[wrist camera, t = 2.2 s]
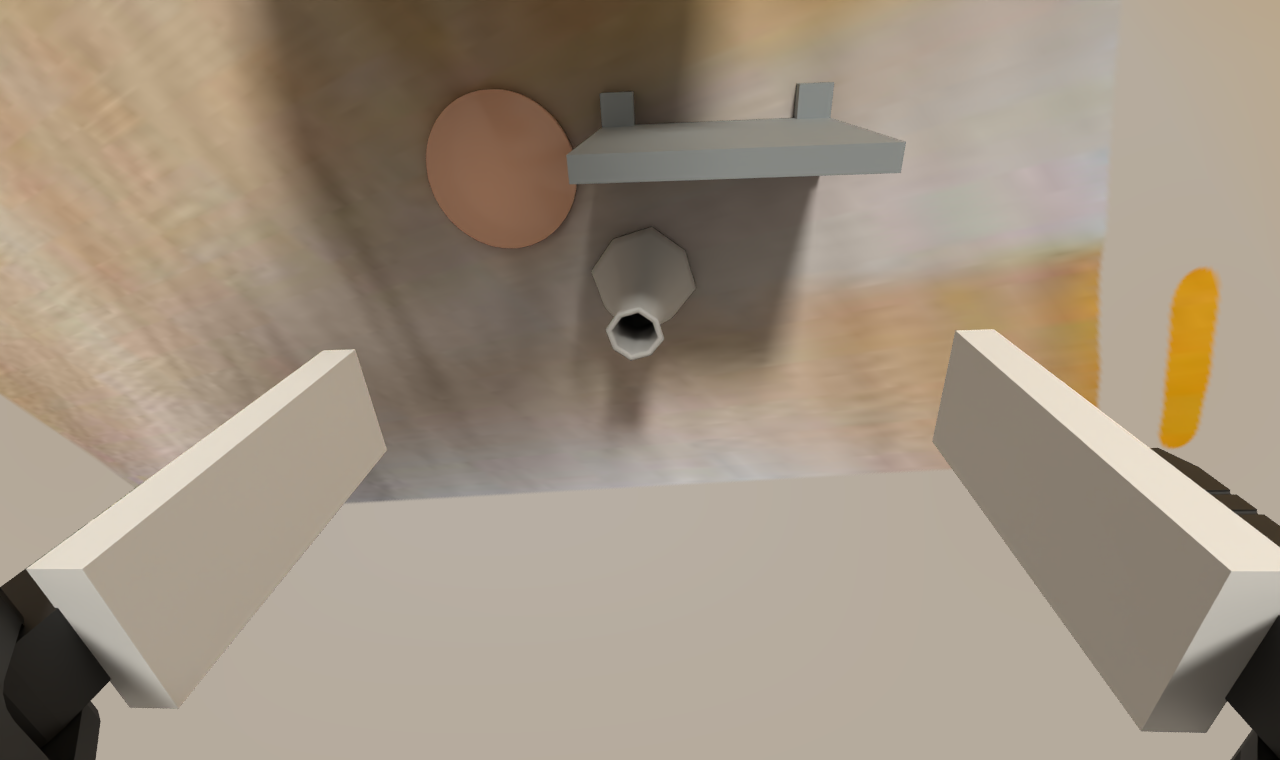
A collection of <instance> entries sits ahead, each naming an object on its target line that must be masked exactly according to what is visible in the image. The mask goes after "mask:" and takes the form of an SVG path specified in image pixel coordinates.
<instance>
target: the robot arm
mask: <svg viewBox="0 0 1280 760" xmlns="http://www.w3.org/2000/svg"><path fill="white" fill-rule="evenodd" d="M932 442H933V443H934V444H935V446H936V447H937V449H938V450H939V451H940V453H941V454H942V455H943V457H944V458H945V460H946V461H947V462H948V464H949V465H950V467H951V468H952V469H953V471H954V472H955V474H956V475H957V476H958V478H959V479H960V480H961V482H962V483H963V485H964V486H965V487H966V488H967V490H968V492H969V493H970V494H971V496H972V497H973V498H974V500H975V501H976V502H977V504H978V505H979V507H980V508H981V510H982V511H983V512H984V514H985V515H986V516H987V518H988V519H989V521H990V522H991V523H992V525H993V526H994V528H995V529H996V530H997V532H998V533H999V535H1000V536H1001V537H1002V539H1003V540H1004V542H1005V543H1006V544H1007V546H1008V547H1009V548H1010V550H1011V551H1012V553H1013V554H1014V555H1015V557H1016V558H1017V560H1018V561H1019V562H1020V564H1021V565H1022V566H1023V568H1024V569H1025V570H1026V572H1027V573H1028V575H1029V576H1030V577H1031V579H1032V580H1033V581H1034V583H1035V585H1036V586H1037V587H1038V589H1039V590H1040V592H1041V593H1042V594H1043V596H1044V597H1045V598H1046V600H1047V601H1048V603H1049V604H1050V605H1051V607H1052V608H1053V610H1054V611H1055V612H1056V614H1057V615H1058V616H1059V618H1060V619H1061V620H1062V622H1063V623H1064V625H1065V626H1066V628H1067V629H1068V630H1069V632H1070V633H1071V635H1072V636H1073V637H1074V639H1075V640H1076V641H1077V643H1078V644H1079V645H1080V647H1081V648H1082V650H1083V651H1084V653H1085V654H1086V655H1087V657H1088V658H1089V660H1090V661H1091V662H1092V664H1093V665H1094V666H1095V668H1096V669H1097V670H1098V672H1099V673H1100V675H1101V676H1102V678H1103V679H1104V680H1105V682H1106V683H1107V684H1108V686H1109V687H1110V689H1111V690H1112V691H1113V693H1114V694H1115V696H1116V697H1117V698H1118V700H1119V701H1120V703H1121V704H1122V705H1123V707H1124V708H1125V709H1126V711H1127V712H1128V714H1129V715H1130V716H1131V718H1132V719H1133V721H1134V722H1135V723H1136V725H1137V726H1138V728H1139V729H1140V730H1141V731H1153V732H1196V733H1197V732H1198V733H1206V732H1207V731H1208V729H1209V728H1210V726H1211V725H1212V723H1213V722H1214V720H1215V718H1216V717H1217V716H1218V714H1219V712H1220V711H1221V709H1222V708H1223V706H1224V705H1225V703H1226V702H1227V701H1228V702H1229V703H1230V705H1231V706H1232V707H1233V708H1234V709H1235V710H1236V711H1237V712H1238V713H1239V714H1240V715H1241V717H1242V718H1243V719H1244V720H1245V721H1246V722H1247V724H1248V725H1250V727H1251V728H1252V731H1251V732H1250V734H1249V735H1248V736H1247V738H1246V739H1245V741H1244V742H1243V744H1242V745H1241V746H1240V748H1239V749H1238V750H1237V752H1236V753H1235V755H1234V756H1233V758H1232V759H1231V760H1280V526H1279V525H1278V524H1276V523H1275V522H1274V521H1272V520H1271V519H1269V518H1268V517H1267V516H1265V515H1258V514H1257V509H1256V508H1254V507H1253V506H1252V505H1250V504H1249V503H1247V502H1246V501H1245V500H1243V499H1242V498H1240V497H1239V496H1238V495H1231V494H1230V490H1229V489H1228V488H1227V487H1225V486H1224V485H1222V484H1221V483H1220V482H1218V481H1217V480H1216V479H1214V478H1213V477H1212V476H1210V475H1209V474H1207V473H1206V472H1205V471H1203V470H1202V469H1201V468H1199V467H1197V466H1195V465H1193V464H1191V463H1189V462H1187V461H1185V460H1182V459H1180V458H1178V457H1176V456H1174V455H1172V454H1170V453H1168V452H1166V451H1164V450H1161V449H1159V448H1149V447H1148V446H1146V445H1145V444H1144V443H1142V442H1141V441H1140V440H1138V439H1137V438H1136V437H1134V436H1133V435H1132V434H1131V433H1129V432H1128V431H1126V430H1125V429H1124V428H1123V427H1121V426H1120V425H1119V424H1117V423H1116V422H1115V421H1113V420H1112V419H1111V418H1110V417H1108V416H1107V415H1106V414H1104V413H1103V412H1102V411H1100V410H1099V409H1098V408H1096V407H1095V406H1094V405H1092V404H1091V403H1090V402H1089V401H1087V400H1086V399H1085V398H1083V397H1082V396H1081V395H1079V394H1078V393H1077V392H1075V391H1074V390H1073V389H1071V388H1070V387H1069V386H1068V385H1066V384H1065V383H1064V382H1062V381H1061V380H1060V379H1058V378H1057V377H1056V376H1054V375H1053V374H1052V373H1050V372H1049V371H1048V370H1047V369H1045V368H1044V367H1043V366H1041V365H1040V364H1039V363H1037V362H1036V361H1035V360H1033V359H1032V358H1031V357H1029V356H1028V355H1027V354H1026V353H1024V352H1023V351H1022V350H1020V349H1019V348H1018V347H1016V346H1015V345H1014V344H1012V343H1011V342H1010V341H1008V340H1007V339H1006V338H1005V337H1003V336H1002V335H1001V334H999V333H998V332H997V331H995V330H994V329H990V330H958V331H955V335H954V340H953V345H952V350H951V355H950V359H949V364H948V369H947V374H946V379H945V383H944V388H943V393H942V398H941V402H940V407H939V412H938V417H937V422H936V426H935V431H934V436H933V441H932ZM386 451H387V448H386V445H385V442H384V439H383V436H382V432H381V429H380V426H379V423H378V420H377V417H376V413H375V410H374V407H373V404H372V401H371V398H370V394H369V391H368V388H367V385H366V382H365V379H364V375H363V372H362V369H361V366H360V363H359V360H358V356H357V353H356V350H355V349H352V350H323V351H322V352H320V353H319V354H318V355H316V356H315V357H314V358H312V359H311V360H310V361H308V362H307V363H305V364H304V365H303V366H301V367H300V368H299V369H297V370H296V371H295V372H293V373H292V374H291V375H289V376H288V377H286V378H285V379H284V380H282V381H281V382H280V383H278V384H277V385H276V386H274V387H273V388H271V389H270V390H269V391H267V392H266V393H265V394H263V395H262V396H261V397H259V398H258V399H257V400H255V401H254V402H252V403H251V404H250V405H248V406H247V407H246V408H244V409H243V410H242V411H240V412H239V413H237V414H236V415H235V416H233V417H232V418H231V419H229V420H228V421H227V422H225V423H224V424H223V425H221V426H220V427H218V428H217V429H216V430H214V431H213V432H212V433H210V434H209V435H208V436H206V437H205V438H203V439H202V440H201V441H199V442H198V443H197V444H195V445H194V446H193V447H191V448H190V449H188V450H187V451H186V452H184V453H183V454H182V455H180V456H179V457H178V458H176V459H175V460H174V461H172V462H171V463H169V464H168V465H167V466H165V467H164V468H163V469H161V470H160V471H159V472H157V473H156V474H154V475H153V476H152V477H150V478H149V479H148V480H146V481H144V482H143V483H142V484H140V485H139V486H138V487H136V488H135V489H134V490H132V491H131V492H129V493H128V494H127V495H125V496H124V497H123V498H121V499H120V500H119V501H117V502H116V503H115V504H114V505H112V506H110V507H109V508H108V509H106V510H105V511H103V512H102V513H101V514H99V515H98V516H97V517H95V518H94V519H93V520H92V521H91V522H89V523H87V524H86V525H84V526H83V527H82V528H80V529H79V530H78V531H76V532H75V533H74V534H72V535H71V536H69V537H68V538H67V539H66V540H64V541H63V542H61V543H60V544H59V545H58V546H56V547H54V548H53V549H52V550H51V551H49V552H48V553H46V554H45V555H44V556H42V557H41V558H39V559H38V560H37V561H35V562H34V563H33V564H31V565H30V566H29V567H27V568H26V569H25V570H23V571H22V572H20V573H19V574H18V575H16V576H15V577H14V578H12V579H11V580H10V581H8V582H7V583H5V584H4V585H3V586H1V587H0V760H95V759H96V751H97V744H98V735H99V728H100V718H99V713H98V710H97V709H96V707H95V706H94V705H93V704H92V702H91V700H92V698H94V697H95V696H96V694H97V693H98V692H99V691H100V690H101V689H102V688H103V687H104V686H105V685H106V684H107V683H108V682H109V681H110V682H111V683H112V684H113V686H114V687H115V688H116V690H117V691H118V692H119V694H120V695H121V696H122V698H123V699H124V700H125V702H126V703H127V704H128V706H129V707H131V708H173V709H178V708H179V707H180V706H181V705H182V704H183V702H184V701H185V700H186V699H187V697H188V696H189V695H190V693H191V692H192V691H193V690H194V689H195V687H196V686H197V685H198V684H199V682H200V681H201V680H202V679H203V677H204V676H205V675H206V674H207V673H208V671H209V670H210V669H211V668H212V666H213V665H214V664H215V663H216V661H217V660H218V659H219V658H220V656H221V655H222V654H223V653H224V651H225V650H226V649H227V648H228V647H229V645H230V644H231V643H232V642H233V640H234V639H235V638H236V637H237V635H238V634H239V633H240V632H241V630H242V629H243V628H244V627H245V626H246V624H247V623H248V622H249V620H250V619H251V618H252V617H253V615H254V614H255V613H256V612H257V611H258V609H259V608H260V607H261V605H262V604H263V603H264V602H265V601H266V599H267V598H268V597H269V596H270V594H271V593H272V592H273V591H274V590H275V588H276V587H277V586H278V585H279V583H280V582H281V581H282V580H283V578H284V577H285V576H286V575H287V573H288V572H289V571H290V570H291V568H292V567H293V566H294V565H295V563H296V562H297V561H298V560H299V558H300V557H301V556H302V555H303V554H304V552H305V551H306V550H307V549H308V547H309V546H310V545H311V544H312V542H313V541H314V540H315V539H316V538H317V536H318V535H319V534H320V533H321V531H322V530H323V529H324V528H325V526H326V525H327V524H328V523H329V521H330V520H331V519H332V518H333V516H334V515H335V514H336V513H337V512H338V510H339V509H340V508H341V507H342V505H343V504H344V503H345V502H346V500H347V499H348V498H349V497H350V495H351V494H352V493H353V492H354V491H355V489H356V488H357V487H358V486H359V484H360V483H361V482H362V481H363V479H364V478H365V477H366V476H367V474H368V473H369V472H370V471H371V469H372V468H373V467H374V466H375V465H376V463H377V462H378V461H379V460H380V458H381V457H382V456H383V455H384V453H385V452H386Z"/></svg>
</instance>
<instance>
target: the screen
mask: <svg viewBox="0 0 1280 760" xmlns="http://www.w3.org/2000/svg"><path fill="white" fill-rule="evenodd" d="M833 88H834V82H823V83H801V84H797V86H796V99H795V111H794V118H780V119H756V120H733V121H709V122H685V123H662V124H638V125H635V115H634V92H633V91H629V92H607V93H600V105H601V120H602V128H601V129H599V130H598V131H597V132H595V133H594V134H593V135H592V136H590V137H589V138H588V139H586V140H585V141H584V142H583V143H581V144H580V145H579V146H577V147H576V148H575V149H574V150H572V151H571V152H570V153H568V154H567V155H566V156H567V166H568V177H569V184H597V183H626V182H654V181H683V180H712V179H740V178H769V177H797V176H826V175H855V174H883V173H901V168H902V162H903V156H904V150H905V144H906V142H905V141H902V140H898V139H895V138H892V137H889V136H886V135H883V134H880V133H877V132H873V131H870V130H867V129H864V128H861V127H858V126H855V125H851V124H848V123H845V122H842V121H839V120H836V119H833V118H830V116H831V107H832V98H833Z"/></svg>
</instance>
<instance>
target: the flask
mask: <svg viewBox="0 0 1280 760" xmlns="http://www.w3.org/2000/svg"><path fill="white" fill-rule="evenodd" d="M591 272H592V275H593V277H594V280H595V283H596V285H597V288H598V290H599V293H600V296H601V298H602V301H603V304H604V306H605V308H606V309H607V310H608V311H609V312H610V313H611V314H612V315H613V317H614V318H613V319H612V321H611V322H610V324H609V325H608V326H607V328H606V333H607V335H608V338H609V340H610V343H611V345H612V348H613V350H615V351H616V352H618V353H620V354H621V355H623V356H624V357H626V358H627V359H629V360H630V361H632V360H635V359H639V358H643V357H647V356H650V355H652V354H653V352H654V351H655V350H656V349H657V347H658V346H659V345H660V344H661V342H662V341H663V340H664V336H663V333H662V330H661V327H660V325H661V324H662V323H664V322H666V321H668V320H670V319H671V318H673V316H674V315H675V314H676V313H677V311H678V310H679V309H680V308H681V306H682V305H683V304H684V303H685V301H686V300H687V299H688V298H689V296H690V295H691V294H692V292H693V291H694V290H695V289H696V286H695V283H694V279H693V276H692V272H691V269H690V266H689V262H688V259H687V255H686V252H685V250H683V249H682V248H681V247H679V246H678V245H676V244H675V243H674V242H672V241H671V240H669V239H668V238H667V237H665V236H664V235H663V234H661V233H660V232H658V231H657V230H656V229H654V228H653V227H650V228H647V229H644V230H640V231H637V232H634V233H631V234H628V235H625V236H621V237H618V238H615V239H613V240H612V241H611V243H610V244H609V246H608V247H607V249H606V250H605V252H604V253H603V255H602V256H601V258H600V259H599V260H598V262H597V263H596V265H595V266H594V268H593V269H592V271H591Z"/></svg>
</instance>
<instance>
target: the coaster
mask: <svg viewBox="0 0 1280 760" xmlns="http://www.w3.org/2000/svg"><path fill="white" fill-rule="evenodd" d="M572 150H573V149H572V147H571V144H570V142H569V139H568V138H567V136H566V134H565V132H564V130H563V129H562V127H561V126H560V125H559V123H558V122H557V120H556V119H555V118H554V117H553V116H552V115H551V114H550V113H549V112H548V111H547V110H546V109H545V108H543V107H542V106H541V105H540V104H538V103H537V102H535V101H533V100H532V99H530V98H528V97H526V96H524V95H522V94H519V93H516V92H513V91H508V90H502V89H486V90H478V91H475V92H471V93H468V94H466V95H464V96H461V97H459V98H458V99H456V100H455V101H453V102H452V103H451V104H450V105H448V106H447V107H446V108H445V109H444V110H443V112H442V113H441V114H440V115H439V117H438V118H437V120H436V122H435V123H434V125H433V127H432V130H431V133H430V135H429V139H428V143H427V150H426V168H427V174H428V179H429V183H430V186H431V189H432V191H433V194H434V196H435V198H436V200H437V202H438V204H439V206H440V207H441V209H442V210H443V212H444V213H445V214H446V216H447V217H448V218H449V219H450V220H451V221H452V223H454V224H455V225H456V226H457V227H458V228H459V229H460V230H461V231H463V232H464V233H466V234H467V235H468V236H470V237H472V238H474V239H475V240H477V241H480V242H482V243H484V244H487V245H491V246H494V247H500V248H522V247H526V246H530V245H533V244H535V243H538V242H540V241H542V240H543V239H545V238H547V237H548V236H549V235H551V234H552V233H553V232H554V231H555V230H556V229H557V228H558V227H559V226H560V225H561V223H562V222H563V221H564V219H565V218H566V217H567V215H568V213H569V211H570V209H571V207H572V204H573V201H574V198H575V194H576V188H577V184H569V177H568V166H567V156H566V155H567V154H568V153H570V152H571V151H572Z"/></svg>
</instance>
